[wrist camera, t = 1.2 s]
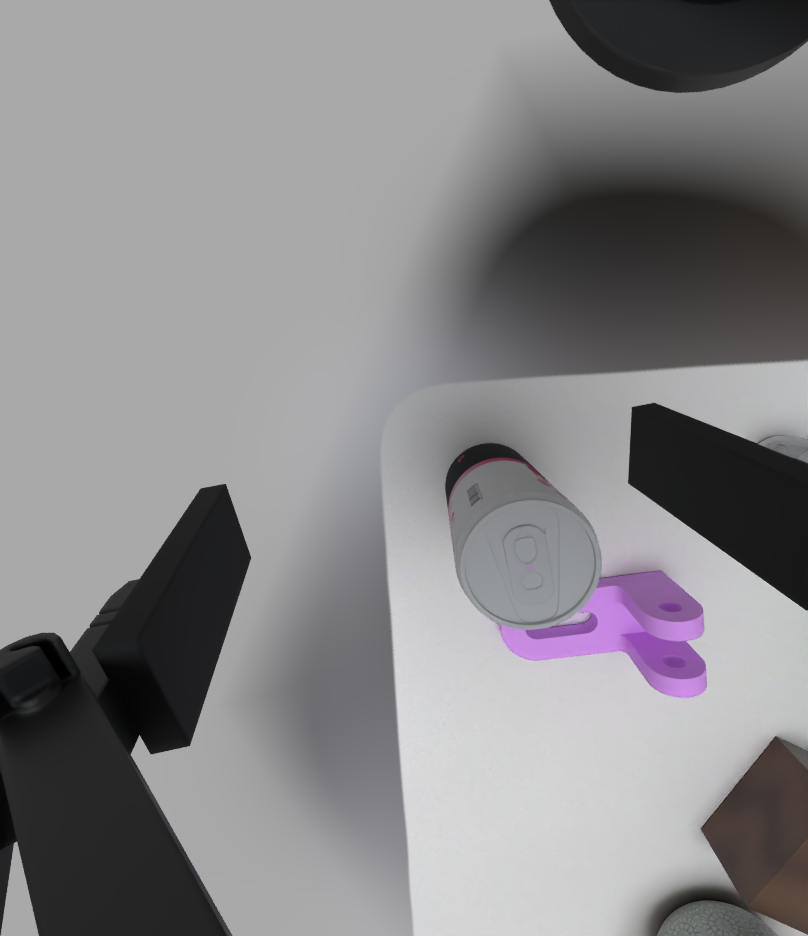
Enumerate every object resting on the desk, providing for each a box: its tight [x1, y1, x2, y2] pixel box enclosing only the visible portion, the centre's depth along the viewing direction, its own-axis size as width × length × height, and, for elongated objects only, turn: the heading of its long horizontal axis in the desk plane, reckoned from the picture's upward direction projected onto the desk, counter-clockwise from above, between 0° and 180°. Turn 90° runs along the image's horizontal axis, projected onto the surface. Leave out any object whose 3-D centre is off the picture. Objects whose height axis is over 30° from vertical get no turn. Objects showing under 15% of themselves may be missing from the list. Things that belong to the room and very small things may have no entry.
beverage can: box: [445, 443, 601, 630], centre depth 28 cm, size 7×7×15 cm
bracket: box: [499, 571, 707, 698], centre depth 33 cm, size 13×6×7 cm, turn 100°
